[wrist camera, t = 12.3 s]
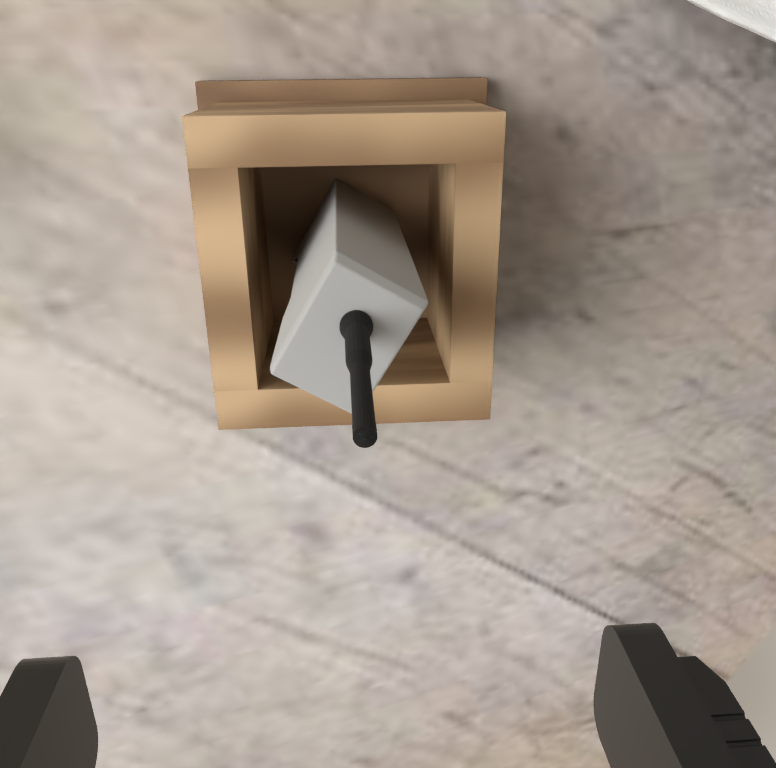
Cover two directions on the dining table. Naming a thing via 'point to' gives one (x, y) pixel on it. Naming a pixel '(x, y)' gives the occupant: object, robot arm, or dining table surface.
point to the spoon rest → (745, 14)
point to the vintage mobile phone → (348, 305)
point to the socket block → (299, 206)
